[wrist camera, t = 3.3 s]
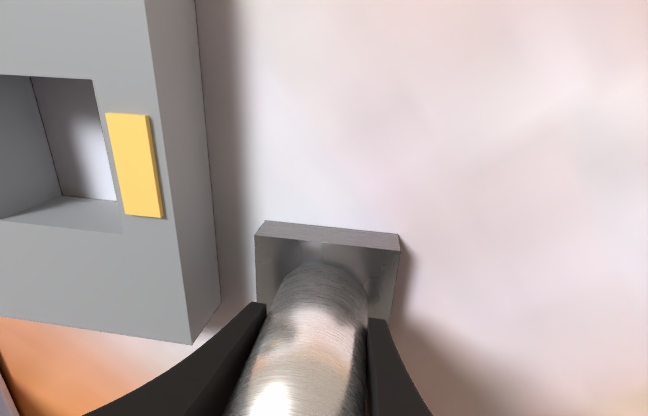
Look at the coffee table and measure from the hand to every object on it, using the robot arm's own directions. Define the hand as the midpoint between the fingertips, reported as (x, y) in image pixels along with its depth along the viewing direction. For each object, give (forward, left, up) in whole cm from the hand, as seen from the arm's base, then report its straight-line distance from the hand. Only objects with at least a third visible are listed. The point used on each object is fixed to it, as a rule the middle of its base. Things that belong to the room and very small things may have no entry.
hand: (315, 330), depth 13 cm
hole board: (+6, +10, -3) cm, 13 cm away
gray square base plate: (0, 0, -3) cm, 3 cm away
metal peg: (0, 0, -2) cm, 2 cm away
